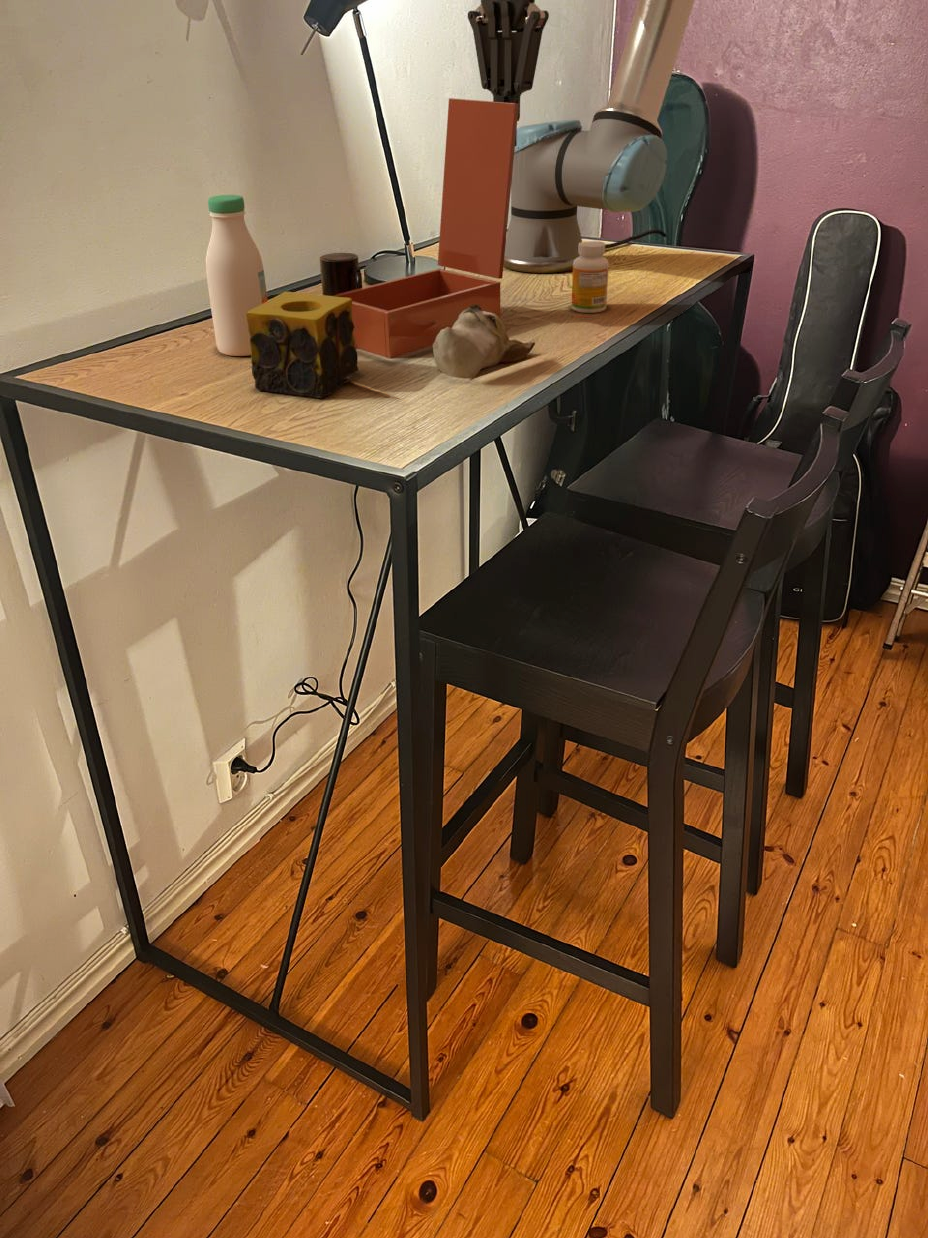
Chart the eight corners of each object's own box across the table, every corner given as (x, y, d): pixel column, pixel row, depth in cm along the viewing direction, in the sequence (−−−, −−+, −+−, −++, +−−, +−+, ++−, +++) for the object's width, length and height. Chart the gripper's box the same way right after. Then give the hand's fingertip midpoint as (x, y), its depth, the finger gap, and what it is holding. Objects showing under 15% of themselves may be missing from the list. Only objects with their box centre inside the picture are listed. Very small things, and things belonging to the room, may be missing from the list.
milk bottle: (261, 358, 139) (241, 202, 128) (208, 355, 140) (184, 201, 129) (281, 341, 145) (264, 192, 134) (230, 339, 146) (209, 191, 136)
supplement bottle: (576, 303, 160) (578, 238, 155) (609, 305, 159) (613, 240, 154) (567, 311, 156) (569, 246, 151) (601, 314, 154) (605, 248, 149)
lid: (515, 103, 135) (519, 103, 135) (448, 97, 142) (452, 98, 143) (498, 278, 145) (502, 278, 145) (437, 265, 152) (441, 265, 153)
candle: (292, 366, 136) (284, 290, 130) (360, 374, 132) (355, 296, 127) (252, 391, 127) (241, 310, 122) (323, 400, 124) (316, 318, 119)
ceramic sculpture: (410, 308, 126) (472, 289, 137) (410, 377, 130) (470, 353, 141) (484, 321, 121) (542, 299, 132) (481, 392, 125) (538, 365, 137)
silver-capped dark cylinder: (317, 322, 153) (311, 256, 148) (346, 314, 157) (341, 250, 152) (349, 332, 149) (344, 264, 144) (378, 323, 152) (374, 257, 147)
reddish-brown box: (390, 364, 136) (387, 312, 132) (331, 345, 143) (326, 296, 140) (500, 329, 149) (500, 281, 145) (440, 313, 156) (439, 268, 153)
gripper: (452, -51, 134) (455, 145, 147) (525, -54, 126) (522, 153, 139) (491, -50, 139) (491, 140, 151) (564, -53, 131) (558, 147, 143)
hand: (506, 146), depth 145 cm, fingers closed
